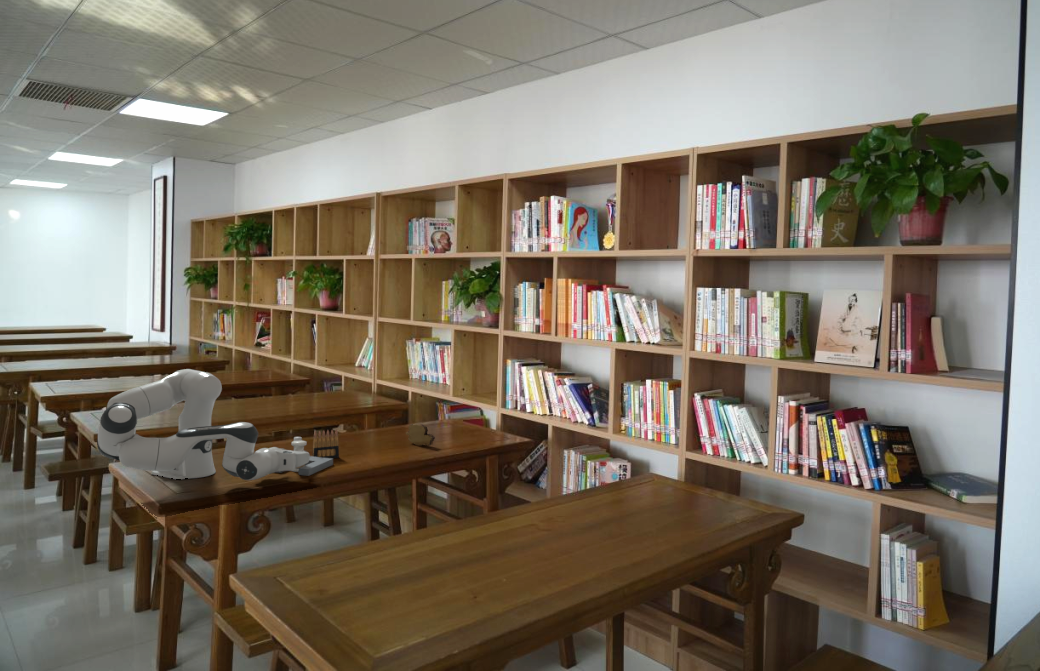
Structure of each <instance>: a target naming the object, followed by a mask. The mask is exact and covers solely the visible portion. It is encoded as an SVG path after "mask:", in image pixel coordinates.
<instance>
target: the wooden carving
mask: <svg viewBox="0 0 1040 671" xmlns="http://www.w3.org/2000/svg"><path fill="white" fill-rule="evenodd" d="M428 431H429V430H428V427H427V426H425V425H424V424H422V423H418V422H417V423H414V424H413V423H411V424H409V425H408V431H406V432H405V434H406V435H407V436H408V438H407V439H408V441H409V442H411V443H412V444H414V445H415V446H424V445H425V446H427V447H428V446H432V445H433V443H434V441H435V438H436V437H435V436H434V434H432V433H428Z"/></svg>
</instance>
